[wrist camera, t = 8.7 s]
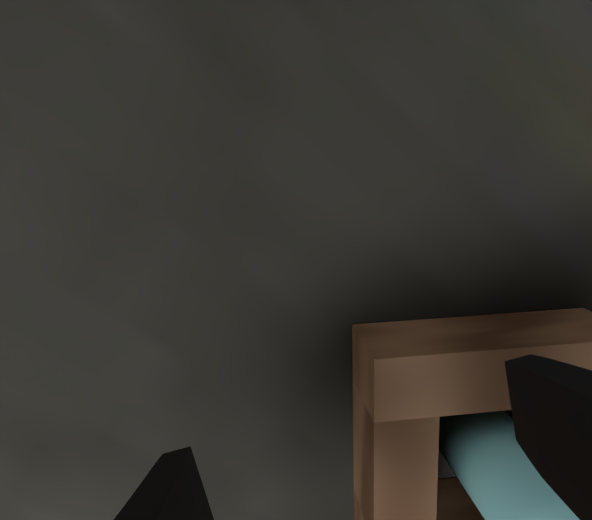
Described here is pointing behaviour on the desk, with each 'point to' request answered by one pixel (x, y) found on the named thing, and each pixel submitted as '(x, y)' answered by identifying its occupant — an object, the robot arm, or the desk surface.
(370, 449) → the socket block
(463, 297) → the desk surface
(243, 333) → the desk surface
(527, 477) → the peg
